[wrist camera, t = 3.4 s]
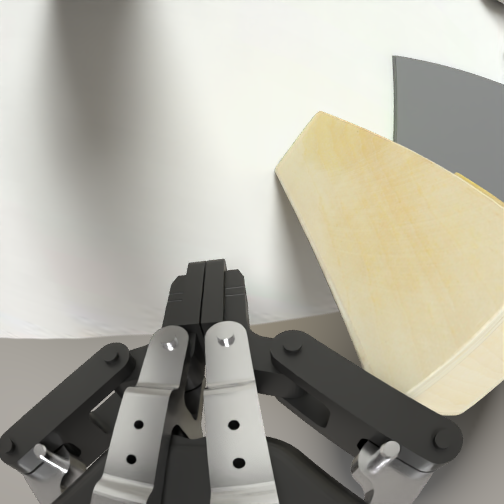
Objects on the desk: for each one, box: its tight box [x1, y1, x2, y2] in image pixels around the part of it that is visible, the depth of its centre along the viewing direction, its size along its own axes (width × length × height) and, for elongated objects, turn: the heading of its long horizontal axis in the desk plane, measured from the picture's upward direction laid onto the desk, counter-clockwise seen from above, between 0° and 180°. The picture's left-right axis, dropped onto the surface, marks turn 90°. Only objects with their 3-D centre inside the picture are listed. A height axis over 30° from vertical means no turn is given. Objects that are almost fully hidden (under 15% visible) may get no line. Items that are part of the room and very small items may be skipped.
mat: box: [393, 56, 504, 203], centre depth 24 cm, size 20×20×1 cm
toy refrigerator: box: [275, 111, 504, 415], centre depth 15 cm, size 8×7×21 cm
